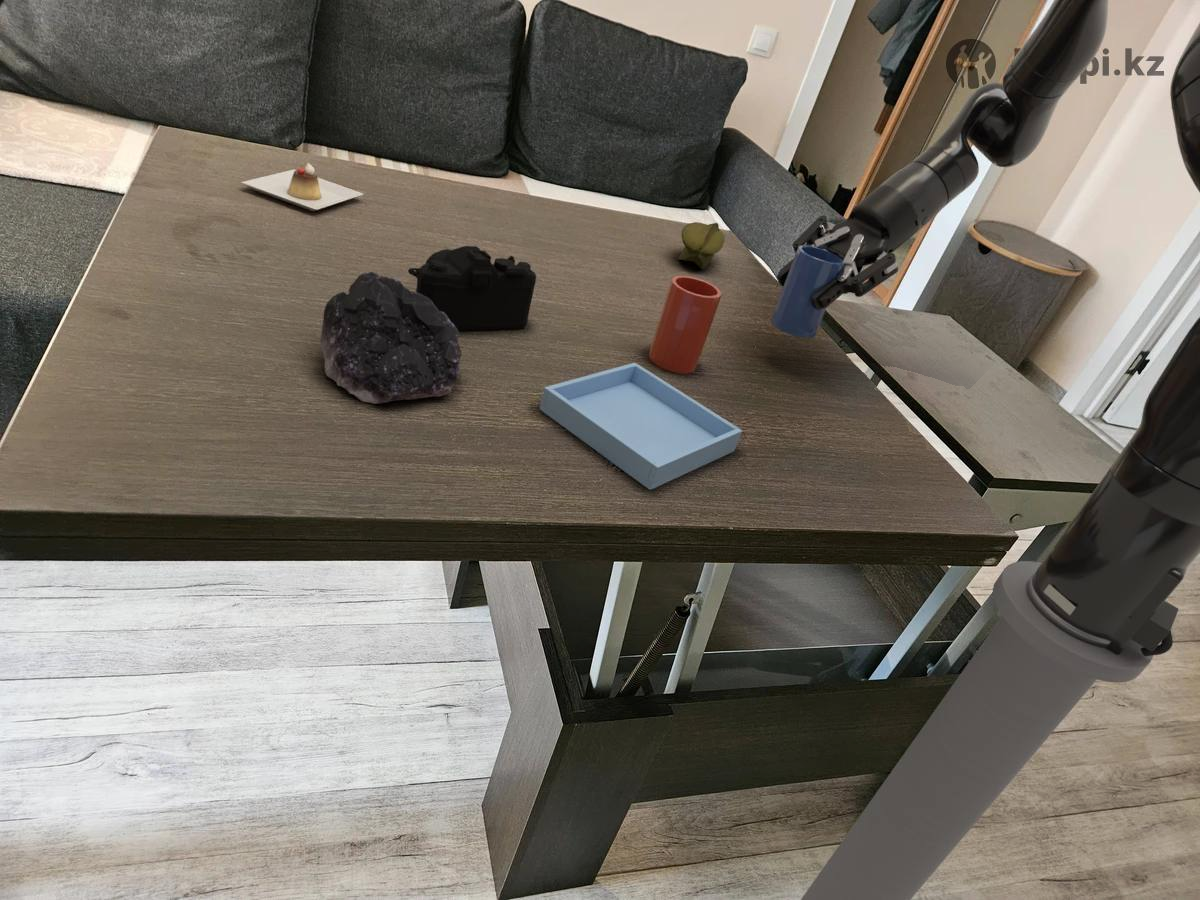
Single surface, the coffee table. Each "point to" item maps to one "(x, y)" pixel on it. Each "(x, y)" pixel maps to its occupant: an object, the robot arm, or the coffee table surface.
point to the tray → (640, 423)
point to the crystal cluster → (388, 342)
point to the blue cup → (805, 291)
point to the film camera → (477, 288)
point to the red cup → (684, 324)
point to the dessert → (302, 189)
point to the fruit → (701, 243)
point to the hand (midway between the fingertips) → (797, 292)
